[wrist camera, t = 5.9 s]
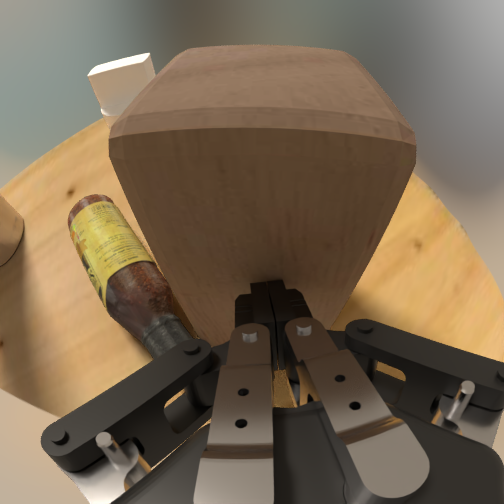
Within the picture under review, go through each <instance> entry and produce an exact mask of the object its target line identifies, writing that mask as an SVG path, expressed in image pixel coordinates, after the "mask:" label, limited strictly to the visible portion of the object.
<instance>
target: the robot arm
mask: <svg viewBox="0 0 504 504" xmlns="http://www.w3.org/2000/svg"><path fill="white" fill-rule="evenodd" d="M23 226H24V223H23V218H22V216H21V215H20V214H19V213H18V212H17V211H16V210H15V209H14V208H13V207H12V206H11V205H10V204H9V203H8V202H7V201H6V200H5V199H4V198H3V197H2V195H1V194H0V266H1V265H3V264H4V263H5V262H7V261H8V260H9V258H10V257H11V256H12V255H13V253H14V252H15V250H16V248H17V246H18V244H19V242H20V240H21V237H22V233H23ZM250 288H251V294H241V295H239V296H238V297H237V298H236V300H235V329H234V330H233V331H232V333H231V336H230V340H229V341H227V342H225V343H223V344H221V345H218V346H214V347H211V346H210V344H209V343H208V342H207V341H205V340H202V339H189V340H185V341H182V342H180V343H179V344H177V345H175V346H174V347H172V348H171V349H169V350H168V351H166V352H165V353H163V354H162V355H160V356H159V357H157V358H156V359H154V360H153V361H151V362H150V363H148V364H147V365H145V366H144V367H142V368H141V369H139V370H138V371H136V372H135V373H133V374H131V375H130V376H128V377H127V378H125V379H124V380H122V381H121V382H119V383H117V384H116V385H114V386H113V387H111V388H109V389H108V390H106V391H105V392H103V393H102V394H100V395H98V396H97V397H95V398H94V399H92V400H90V401H89V402H87V403H85V404H84V405H82V406H81V407H79V408H77V409H76V410H74V411H72V412H71V413H69V414H67V415H66V416H64V417H62V418H61V419H59V420H57V421H56V422H54V423H52V424H51V425H49V426H48V427H47V428H46V429H45V430H44V432H43V434H42V436H41V445H42V448H43V449H44V451H45V452H46V453H47V454H48V455H49V456H50V457H51V458H52V459H53V460H54V461H55V462H56V464H57V465H58V467H59V468H60V469H61V470H62V471H63V472H64V473H65V474H66V475H67V476H68V477H69V478H70V479H71V480H73V481H74V483H75V484H76V485H77V487H78V488H79V489H80V491H81V492H82V493H83V495H84V496H85V497H86V499H87V500H88V501H89V503H90V504H504V465H503V463H502V460H501V458H500V457H499V455H498V454H497V453H496V452H495V451H494V450H493V449H492V446H493V442H494V439H495V436H496V433H497V429H498V426H499V422H500V418H501V415H502V412H503V411H504V363H503V362H500V361H496V360H493V359H490V358H486V357H483V356H480V355H477V354H473V353H470V352H467V351H464V350H461V349H457V348H454V347H451V346H448V345H445V344H442V343H439V342H436V341H433V340H430V339H426V338H423V337H420V336H417V335H414V334H411V333H408V332H405V331H402V330H399V329H396V328H393V327H390V326H387V325H385V324H382V323H379V322H376V321H373V320H368V319H358V320H354V321H352V322H350V323H349V324H348V325H347V326H346V329H345V331H331V330H326V329H325V328H324V326H323V325H322V323H321V322H320V321H318V320H316V319H314V318H313V316H312V314H311V312H310V310H309V307H308V305H307V303H306V301H305V299H304V296H303V294H302V293H301V292H300V291H298V290H297V289H286V288H285V285H284V282H283V280H274V281H267V285H266V281H265V282H256V283H250ZM277 360H278V365H279V370H283V369H286V373H287V385H288V388H289V392H290V395H291V398H292V401H293V404H294V407H295V408H279V407H274V386H273V381H274V378H275V376H274V371H276V370H278V366H277ZM378 361H379V362H382V363H384V364H387V365H389V366H392V367H394V368H397V369H399V370H401V371H402V372H403V373H404V374H405V376H406V381H402V380H400V379H397V378H395V377H392V376H390V375H387V374H385V373H382V372H380V371H378V370H376V367H377V362H378ZM182 389H184V391H185V393H184V394H182V395H181V396H180V397H178V398H177V399H176V400H175V401H173V402H172V403H171V404H169V405H168V406H167V407H166V408H164V406H165V404H166V402H167V401H168V400H169V399H171V398H172V397H173V396H174V395H176V394H177V393H178V392H180V391H181V390H182ZM211 417H212V418H211ZM210 418H211V423H209V424H207V425H205V426H204V427H202V428H200V427H201V426H202V425H204V424H205V423H206V422H207V421H208V420H209V419H210ZM199 428H200V429H199ZM198 429H199V430H198ZM194 432H195V433H194ZM186 439H187V440H186ZM185 440H186V441H185ZM184 441H185V442H184ZM183 442H184V443H183ZM180 444H181V445H180ZM179 445H180V446H179ZM178 446H179V447H178ZM177 447H178V448H177ZM176 448H177V449H176ZM174 449H176V450H175V451H174V452H172V451H173V450H174ZM171 452H172V453H171ZM169 453H171V454H170V455H169V456H168V457H167V458H166V459H164V460H163V461H162V462H161V463H160V464H159V465H157V466H156V467H155V468H154V469H153V470H152V471H151V468H152V467H153V466H155V465H156V464H157V463H158V462H159V461H161V460H162V459H163V458H165V457H166V456H167V455H168V454H169Z"/></svg>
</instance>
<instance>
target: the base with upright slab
mask: <svg viewBox="0 0 504 504" xmlns="http://www.w3.org/2000/svg"><path fill="white" fill-rule="evenodd" d="M154 77H155V72H154V68H153V64H152V60H151V57H150V53H146V54H142V55H136V56H133V57H128V58H124V59H120V60H116V61H113V62H109V63H105V64H102V65H99V66H96V67H95V68H93V69H92V70H91V72H90V73H89V74H88V78H89V81H90V83H91V86H92V88H93V91H94V93H95V95H96V98H97V100H98V102H99V104H100V107H101V112H102V114H103V116H104V118H105V121H106V123H107V125H108V127H109V129H110V131H111V127H112V125H113V124H114V123H115V121H116V120H117V119H118V118H119V116H120V115H121V114H122V113H123V112H124V110H125V109H126V108H127V107H128V106H129V105H130V103H131V102H132V101H133V100H134V99H135V98H136V97H137V95H138V94H139V93H140V92H141V91H142V90H143V89H144V88H145V87H146V86H147V85H148V84H149V82H150V81H151V80H152V79H153V78H154Z"/></svg>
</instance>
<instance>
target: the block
mask: <svg viewBox="0 0 504 504" xmlns="http://www.w3.org/2000/svg"><path fill="white" fill-rule="evenodd" d="M109 157H110V160H111V162H112V165H113V167H114V170H115V172H116V174H117V177H118V179H119V182H120V184H121V186H122V189H123V191H124V193H125V195H126V198H127V200H128V202H129V204H130V207H131V209H132V211H133V213H134V215H135V218H136V220H137V222H138V224H139V226H140V228H141V230H142V232H143V234H144V237H145V239H146V241H147V243H148V245H149V247H150V249H151V251H152V253H153V255H154V257H155V259H156V261H157V263H158V265H159V266H160V268H161V270H162V272H163V274H164V276H165V278H166V280H167V282H168V284H169V285H170V287H171V289H172V291H173V293H174V295H175V296H176V298H177V300H178V302H179V304H180V305H181V307H182V309H183V311H184V312H185V314H186V316H187V318H188V319H189V321H190V323H191V325H192V326H193V328H194V330H195V331H196V333H197V335H198V336H199V338H200V339H202V340H205V341H207V342H208V343H209V344H210V346H211V347H214V346H218V345H221V344H223V343H225V342H227V341H229V340H230V336H231V333H232V331H233V330H234V329H235V300H236V298H237V297H238V296H239V295H241V294H251V288H250V283H256V282H265V281H266V285H267V281H274V280H283V282H284V285H285V288H286V289H297V290H298V291H300V292H301V293H302V294H303V296H304V299H305V301H306V303H307V305H308V307H309V310H310V312H311V314H312V316H313V318H314V319H316V320H318V321H320V322H321V323H322V325H323V326H324V328H325V329H326V330H330V328H331V326H332V325H333V323H334V322H335V320H336V318H337V317H338V315H339V314H340V312H341V310H342V309H343V307H344V305H345V304H346V302H347V300H348V299H349V297H350V295H351V293H352V292H353V290H354V288H355V287H356V285H357V283H358V281H359V280H360V278H361V276H362V274H363V272H364V271H365V269H366V267H367V265H368V263H369V261H370V260H371V258H372V256H373V254H374V252H375V250H376V248H377V246H378V244H379V242H380V240H381V238H382V236H383V234H384V232H385V230H386V228H387V226H388V224H389V222H390V220H391V218H392V216H393V214H394V212H395V210H396V208H397V205H398V203H399V201H400V199H401V197H402V194H403V192H404V190H405V188H406V185H407V183H408V181H409V178H410V176H411V174H412V171H413V169H414V167H415V164H416V140H415V133H414V131H413V130H412V128H411V127H410V125H409V124H408V122H407V121H406V120H405V118H404V117H403V115H402V114H401V113H400V111H399V110H398V109H397V107H396V106H395V105H394V103H393V102H392V101H391V99H390V98H389V97H388V96H387V94H386V93H385V92H384V91H383V89H382V88H381V87H380V86H379V85H378V83H377V82H376V81H375V80H374V79H373V78H372V76H371V75H370V74H369V73H368V71H367V70H366V69H365V68H364V67H363V66H362V65H361V64H360V63H359V61H358V60H357V59H355V58H354V57H353V56H351V55H349V54H347V53H345V52H343V51H338V50H331V49H322V48H312V47H301V46H285V45H228V46H212V47H200V48H190V49H188V50H186V51H184V52H182V53H180V54H178V55H177V56H176V57H175V58H174V59H172V60H171V62H169V64H167V65H166V66H165V67H164V68H163V69H162V70H161V71H160V72H159V73H158V74H157V75H156V76H155V77H154V78H153V79H152V80H151V81H150V82H149V84H148V85H147V86H146V87H145V88H144V89H143V90H142V91H141V92H140V93H139V94H138V95H137V97H136V98H135V99H134V100H133V101H132V102H131V103H130V105H129V106H128V107H127V108H126V109H125V110H124V112H123V113H122V114H121V115H120V116H119V118H118V119H117V120H116V121H115V123H114V124H113V125H112V127H111V131H110V135H109Z"/></svg>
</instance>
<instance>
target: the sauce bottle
mask: <svg viewBox="0 0 504 504" xmlns="http://www.w3.org/2000/svg"><path fill="white" fill-rule="evenodd" d="M68 226H69V230H70V236H71V238H72V241H73V243H74V245H75V248H76V250H77V252H78V254H79V257H80V259H81V261H82V263H83V266H84V268H85V270H86V272H87V274H88V276H89V278H90V280H91V282H92V284H93V286H94V288H95V290H96V291H97V293H98V295H99V297H100V299H101V301H102V303H103V305H104V307H105V308H106V310H107V312H108V313H109V315H110V316H111V317H112V318H113V319H114V320H115V321H117V322H118V323H119V324H120V325H121V326H122V327H124V328H125V329H126V330H127V331H128V332H130V333H131V334H132V335H133V336H135V337H136V338H137V339H138V340H140V341H141V342H142V344H143V345H144V346H145V347H146V348H147V349H148V351H149V353H150V354H151V356H152V357H153V358H154V359H156V358H157V357H159V356H160V355H162V354H163V353H165V352H166V351H168V350H169V349H171V348H172V347H174V346H175V345H177V344H179V343H180V342H182V341H185V340H189V339H193V338H192V337H191V335H190V334H189V333H188V331H187V330H186V329H185V327H184V326H183V325H182V323H181V320H180V318H178V317H177V316H175V315H174V305H173V294H172V290H171V287H170V285H169V284H168V282H167V281H166V279H165V278H164V277H163V275H162V274H161V273H160V271H159V270H158V268H157V265H156V263H155V262H154V261H153V259H152V258H151V256H150V255H149V253H148V252H147V251H146V249H145V248H144V246H143V245H142V243H141V242H140V240H139V239H138V237H137V236H136V234H135V233H134V231H133V230H132V228H131V227H130V225H129V224H128V222H127V221H126V219H125V218H124V216H123V215H122V213H121V212H120V210H119V208H118V207H116V205H114V203H113V201H112V200H111V199H110V198H109V197H107V196H105V195H97V194H94V195H90V196H87V197H84V198H83V199H81V200H80V201H79V202H78V203H77V204H76V205H75V206H74V207H73V208H72V210H71V211H70V214H69V218H68Z"/></svg>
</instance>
